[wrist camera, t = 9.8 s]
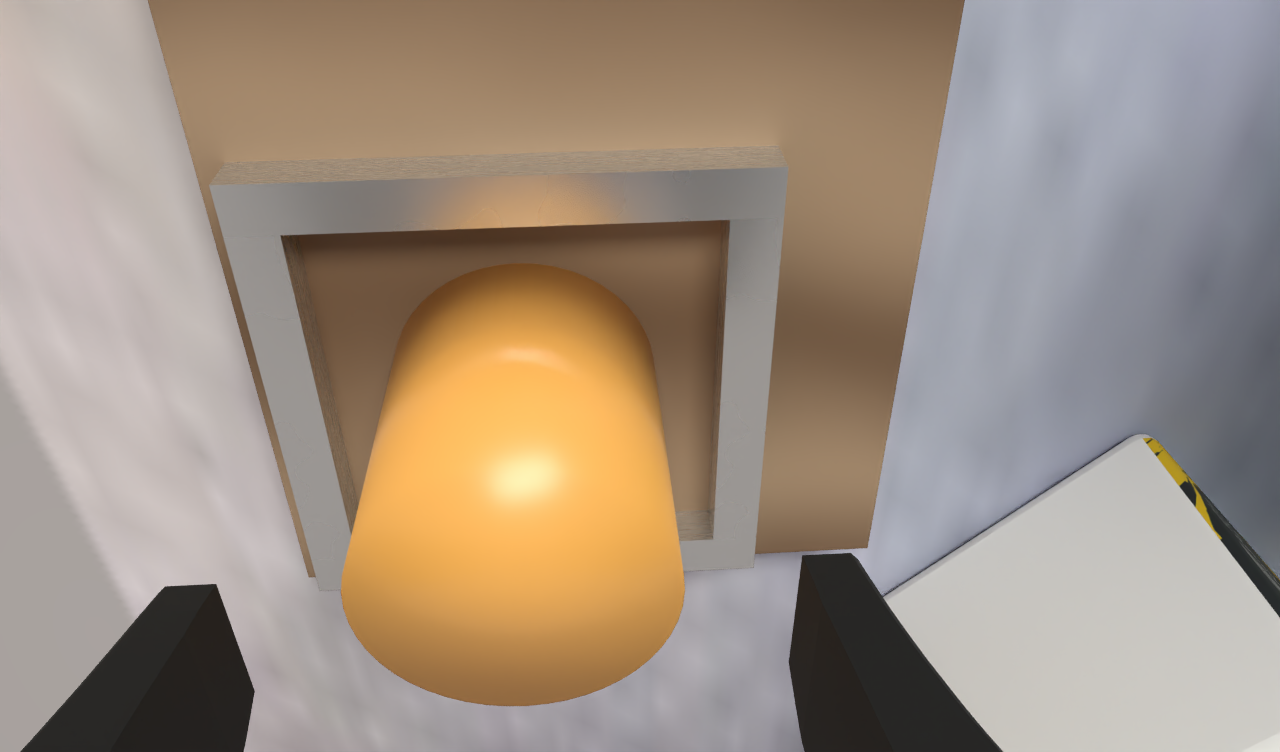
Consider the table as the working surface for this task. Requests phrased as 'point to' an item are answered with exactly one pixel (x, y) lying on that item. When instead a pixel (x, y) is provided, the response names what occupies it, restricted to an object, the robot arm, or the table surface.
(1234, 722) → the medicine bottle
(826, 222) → the tan flat plate
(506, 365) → the cap
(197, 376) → the table surface
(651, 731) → the table surface
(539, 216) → the grey square frame
